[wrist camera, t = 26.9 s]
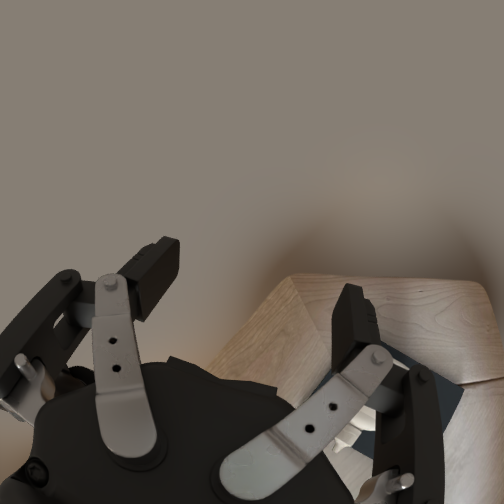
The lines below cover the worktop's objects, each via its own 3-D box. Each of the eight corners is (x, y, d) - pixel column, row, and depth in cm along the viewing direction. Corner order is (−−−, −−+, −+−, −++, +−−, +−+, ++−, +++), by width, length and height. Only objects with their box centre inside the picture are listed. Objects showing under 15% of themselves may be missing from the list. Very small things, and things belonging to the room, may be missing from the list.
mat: (297, 412, 28) (297, 412, 27) (357, 330, 32) (358, 327, 32) (410, 478, 19) (413, 479, 18) (461, 390, 23) (464, 389, 23)
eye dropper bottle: (390, 349, 24) (326, 448, 20) (417, 374, 24) (360, 466, 20) (367, 350, 28) (308, 436, 24) (393, 374, 28) (340, 454, 24)
